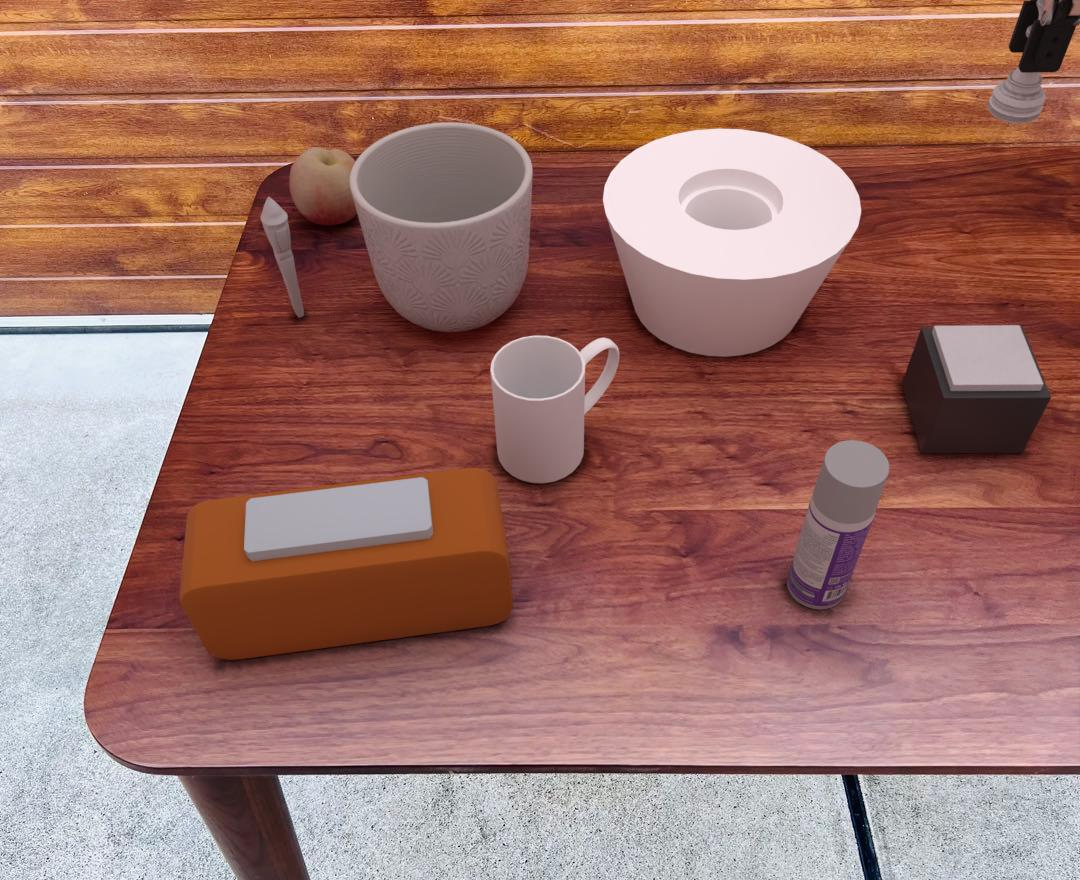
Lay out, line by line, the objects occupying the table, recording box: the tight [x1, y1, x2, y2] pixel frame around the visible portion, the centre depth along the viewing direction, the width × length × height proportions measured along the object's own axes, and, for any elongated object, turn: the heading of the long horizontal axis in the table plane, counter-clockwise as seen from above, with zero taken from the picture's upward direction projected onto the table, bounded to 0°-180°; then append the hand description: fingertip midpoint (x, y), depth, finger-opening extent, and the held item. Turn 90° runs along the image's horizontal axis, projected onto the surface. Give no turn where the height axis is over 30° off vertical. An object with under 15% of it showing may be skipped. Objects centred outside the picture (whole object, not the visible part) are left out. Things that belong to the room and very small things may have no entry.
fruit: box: [288, 146, 357, 226], centre depth 111 cm, size 8×8×8 cm
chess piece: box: [987, 0, 1062, 124], centre depth 83 cm, size 4×4×10 cm
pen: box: [259, 196, 305, 319], centre depth 99 cm, size 2×3×14 cm
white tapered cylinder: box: [602, 128, 862, 358], centre depth 99 cm, size 24×24×12 cm
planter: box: [349, 121, 534, 333], centre depth 99 cm, size 17×17×15 cm
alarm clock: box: [179, 467, 514, 661], centre depth 78 cm, size 24×8×11 cm, turn 98°
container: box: [786, 439, 890, 610], centre depth 76 cm, size 5×5×15 cm
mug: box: [489, 335, 621, 484], centre depth 88 cm, size 12×8×10 cm, turn 124°
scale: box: [901, 324, 1052, 454], centre depth 90 cm, size 9×9×8 cm
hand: (1033, 58), depth 83 cm, fingers closed on chess piece, 2 cm apart
